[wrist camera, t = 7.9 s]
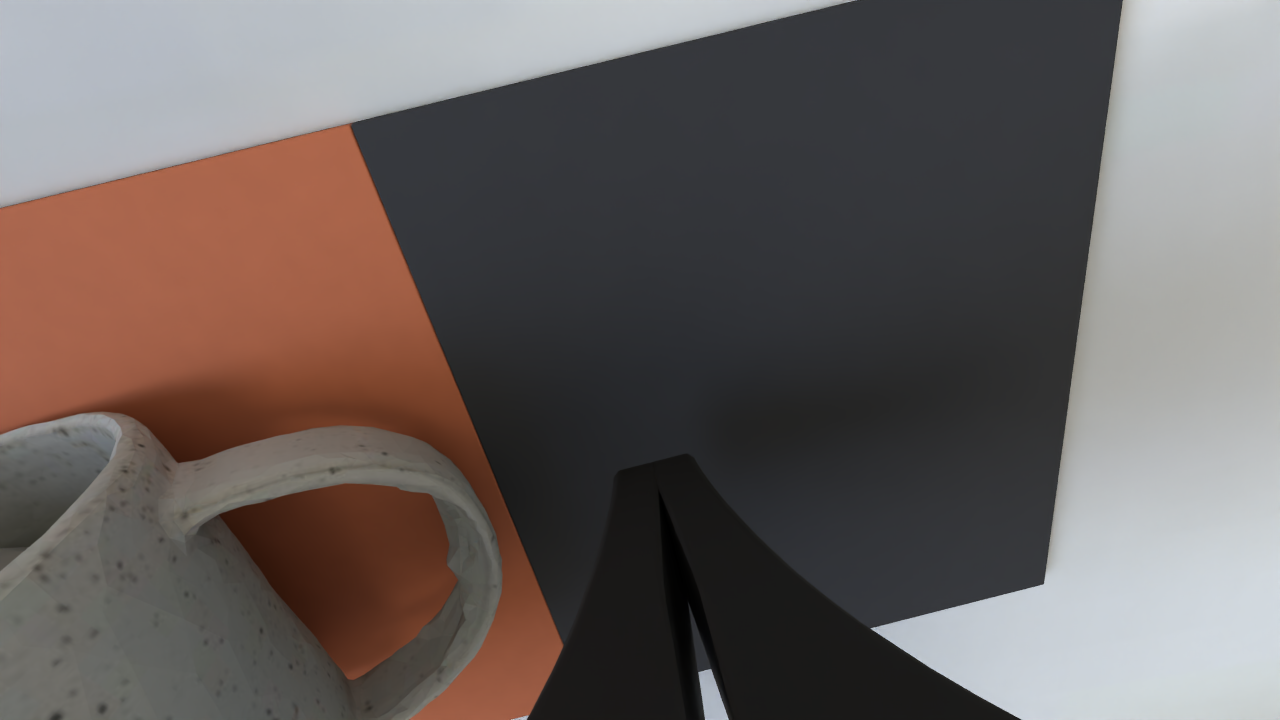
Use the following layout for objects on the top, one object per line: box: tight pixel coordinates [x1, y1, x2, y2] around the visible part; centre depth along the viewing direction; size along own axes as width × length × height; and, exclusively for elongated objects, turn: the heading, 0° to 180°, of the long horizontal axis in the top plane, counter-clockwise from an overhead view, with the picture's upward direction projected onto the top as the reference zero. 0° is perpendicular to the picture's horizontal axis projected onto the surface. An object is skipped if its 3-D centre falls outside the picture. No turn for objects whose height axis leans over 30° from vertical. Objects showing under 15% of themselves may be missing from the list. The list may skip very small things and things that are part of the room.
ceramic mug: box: [0, 412, 503, 720], centre depth 9 cm, size 11×8×8 cm
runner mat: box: [0, 0, 1123, 720], centre depth 12 cm, size 14×24×1 cm, turn 102°
